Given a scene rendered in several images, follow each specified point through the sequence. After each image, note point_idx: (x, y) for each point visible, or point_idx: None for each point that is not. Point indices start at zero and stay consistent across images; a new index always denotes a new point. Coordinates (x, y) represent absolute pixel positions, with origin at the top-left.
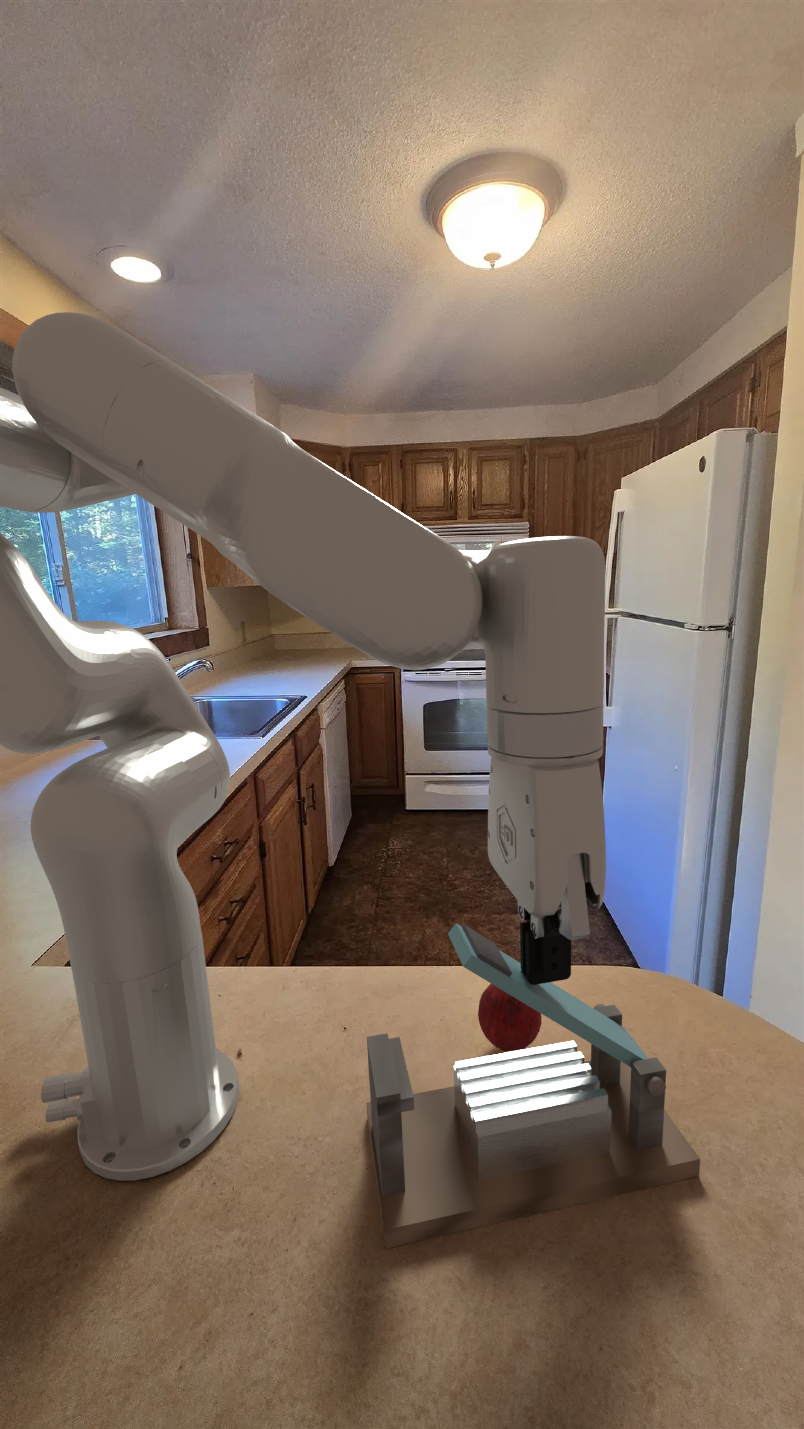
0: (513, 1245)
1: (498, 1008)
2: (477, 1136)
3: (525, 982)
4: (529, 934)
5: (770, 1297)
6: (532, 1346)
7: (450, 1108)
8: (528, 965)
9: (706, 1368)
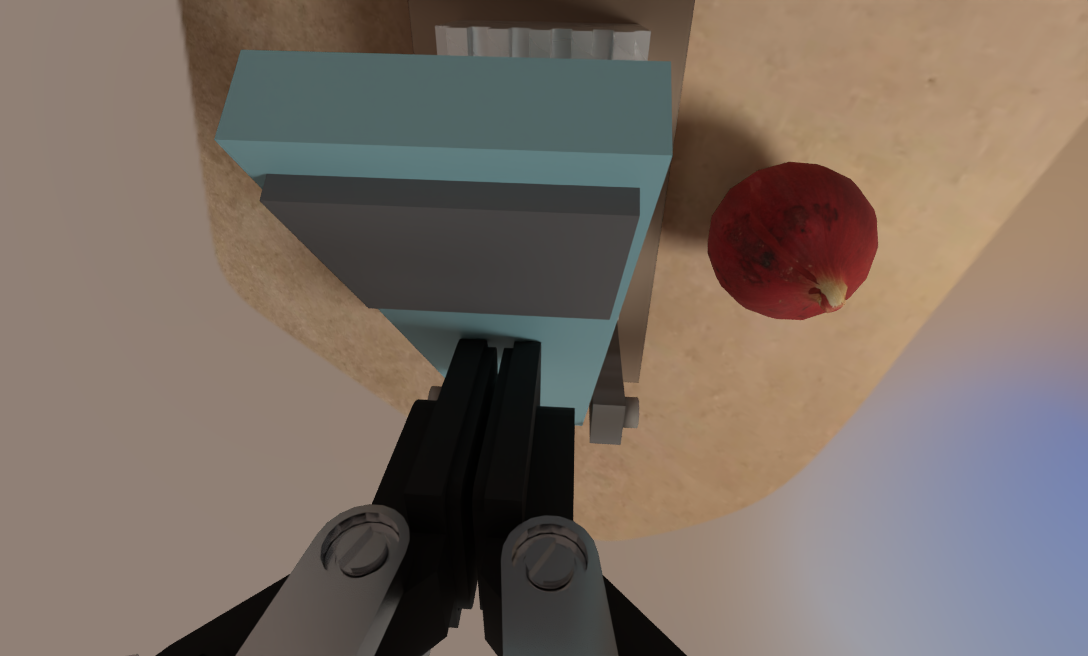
0: (386, 53)
1: (774, 221)
2: (437, 25)
3: (439, 328)
4: (405, 498)
5: (317, 336)
6: (254, 25)
7: (633, 9)
8: (448, 380)
9: (249, 234)
